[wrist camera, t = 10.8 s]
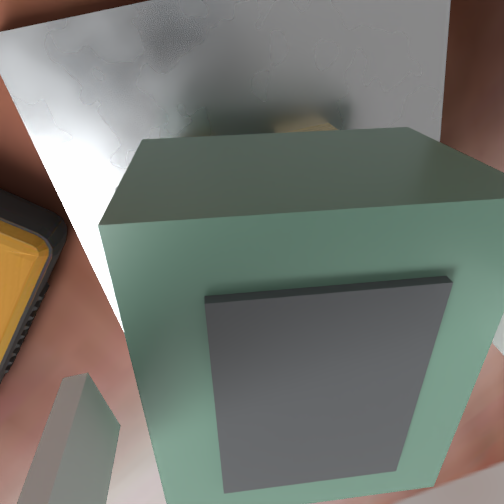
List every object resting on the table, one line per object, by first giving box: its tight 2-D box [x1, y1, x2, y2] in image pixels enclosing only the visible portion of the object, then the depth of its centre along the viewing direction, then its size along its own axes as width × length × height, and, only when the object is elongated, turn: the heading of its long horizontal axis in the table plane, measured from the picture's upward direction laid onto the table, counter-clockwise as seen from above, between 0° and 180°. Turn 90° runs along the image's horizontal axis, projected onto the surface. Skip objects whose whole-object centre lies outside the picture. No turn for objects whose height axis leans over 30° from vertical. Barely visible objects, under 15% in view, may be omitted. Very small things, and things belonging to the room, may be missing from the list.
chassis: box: [0, 0, 451, 331], centre depth 19 cm, size 22×18×4 cm
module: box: [98, 127, 504, 504], centre depth 14 cm, size 12×10×7 cm
